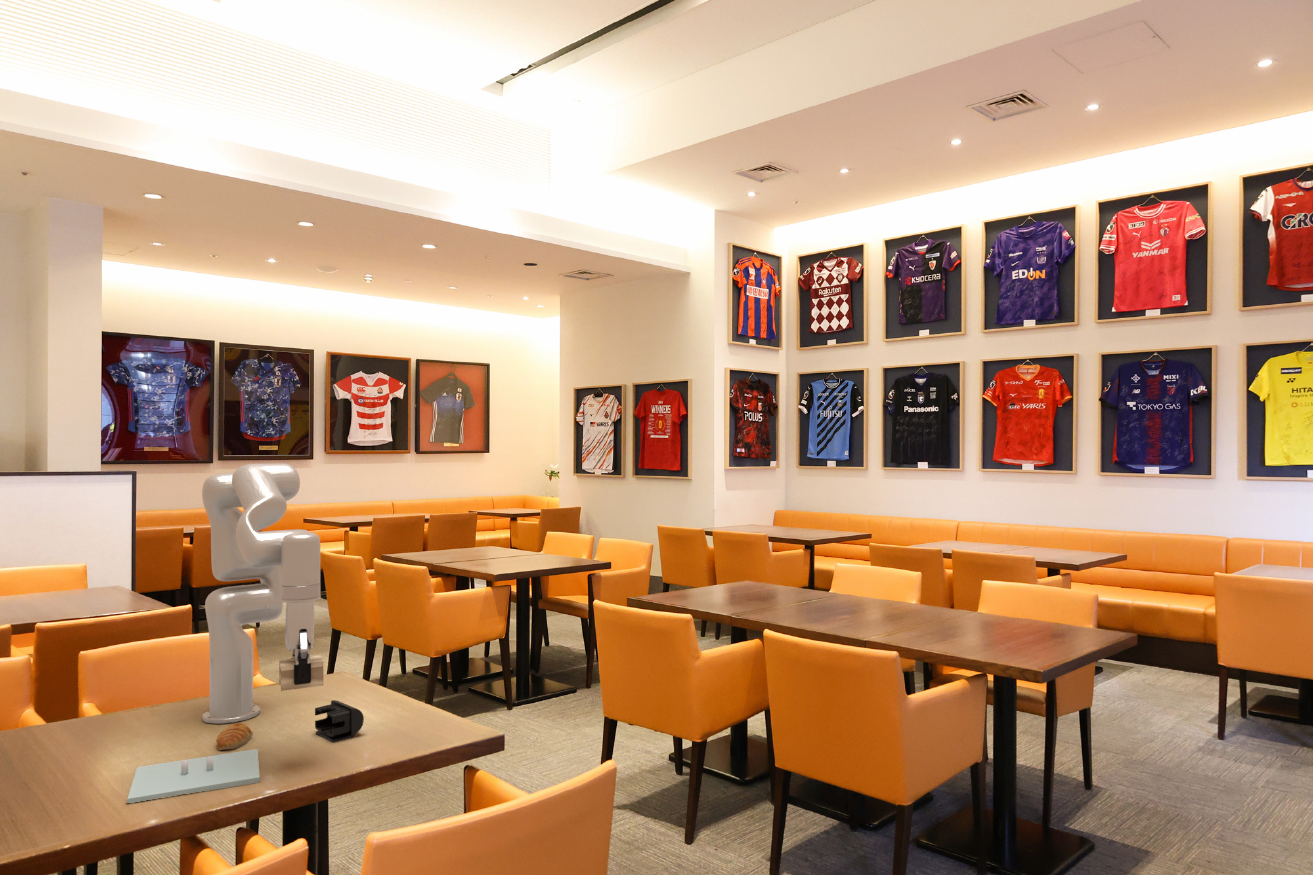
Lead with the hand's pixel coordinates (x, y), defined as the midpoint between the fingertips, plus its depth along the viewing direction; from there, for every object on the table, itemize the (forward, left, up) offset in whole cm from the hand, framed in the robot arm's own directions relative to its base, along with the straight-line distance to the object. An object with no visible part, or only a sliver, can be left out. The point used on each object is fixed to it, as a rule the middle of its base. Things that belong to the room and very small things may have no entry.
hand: (301, 678), depth 175 cm
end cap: (-16, +9, -18) cm, 25 cm away
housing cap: (0, 0, -1) cm, 1 cm away
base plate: (-2, -19, -17) cm, 26 cm away
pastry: (-21, -12, -18) cm, 30 cm away
